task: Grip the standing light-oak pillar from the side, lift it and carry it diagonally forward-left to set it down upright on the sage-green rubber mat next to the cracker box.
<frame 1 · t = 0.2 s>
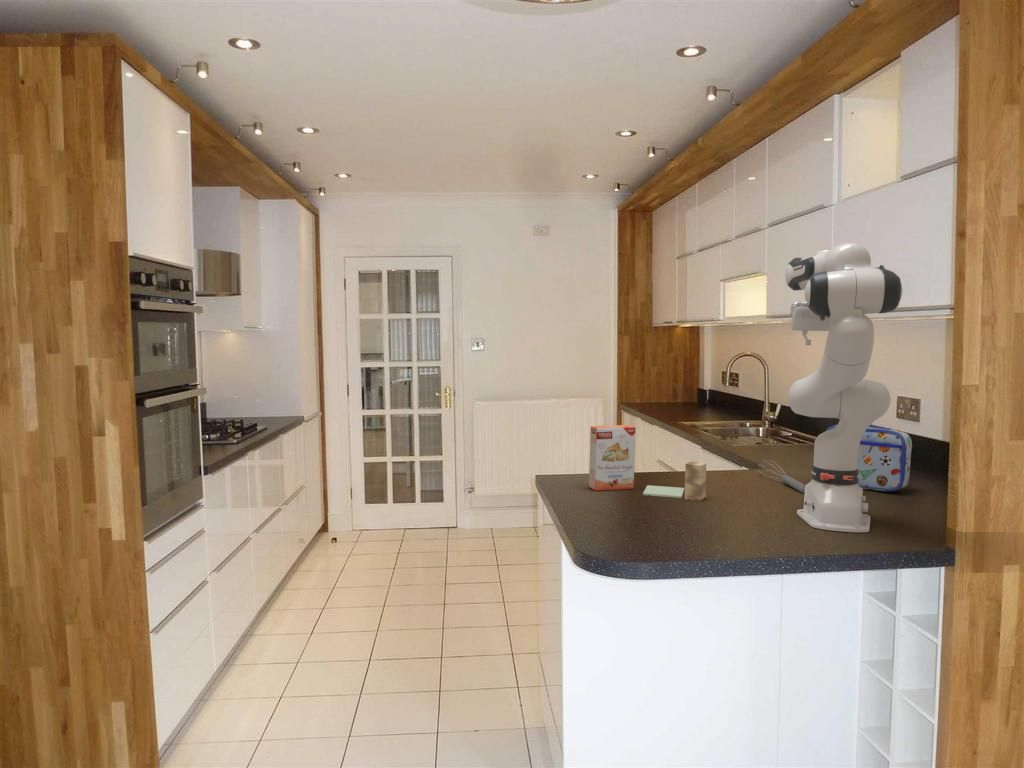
hand: (824, 345, 217), 48 cm above the worktop, tool pointing down, fingers open, 8 cm apart
oak pillar: (695, 498, 213), on the worktop
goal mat: (663, 492, 220), on the worktop
kitchen whisk: (785, 485, 234), on the worktop
lunch box: (862, 487, 230), on the worktop
cracker box: (611, 489, 226), on the worktop
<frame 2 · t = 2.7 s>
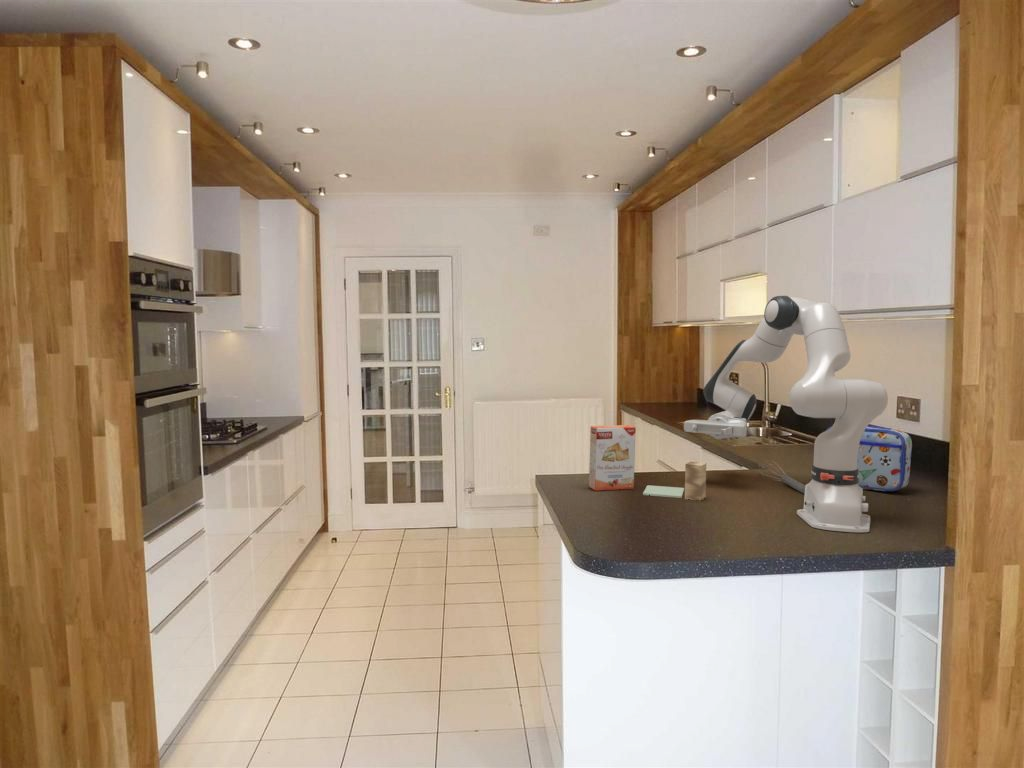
hand: (708, 430, 221), 20 cm above the worktop, tool horizontal, fingers open, 8 cm apart
nothing on the worktop moved.
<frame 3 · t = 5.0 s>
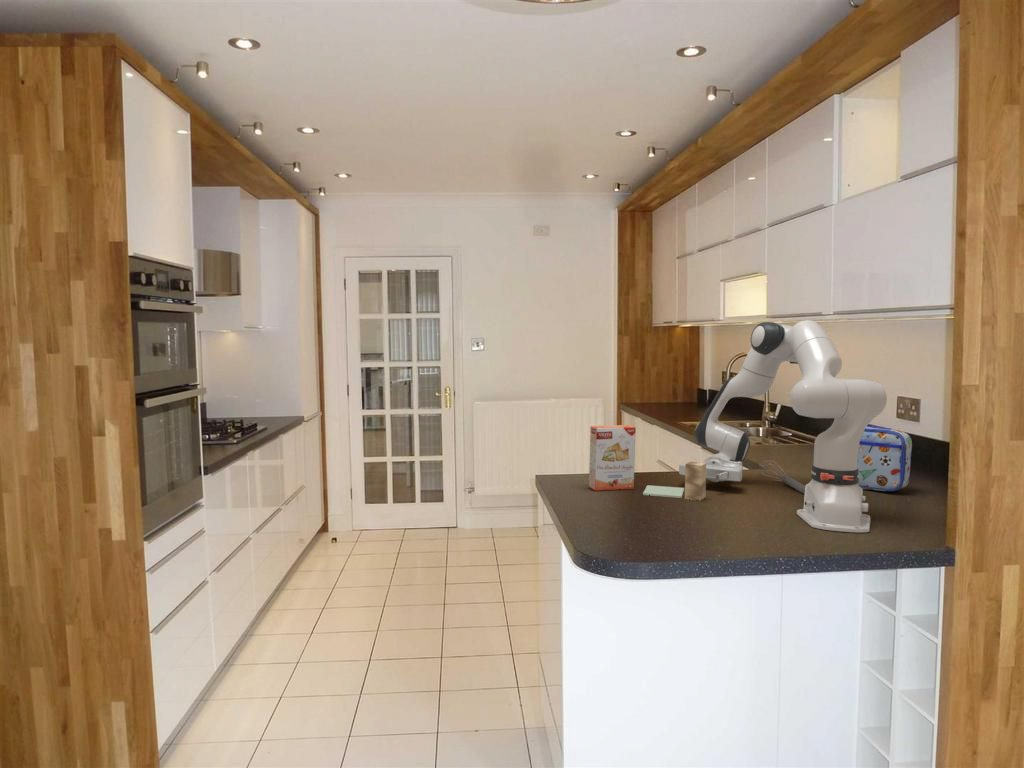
hand: (703, 475, 219), 6 cm above the worktop, tool horizontal, fingers open, 8 cm apart
nothing on the worktop moved.
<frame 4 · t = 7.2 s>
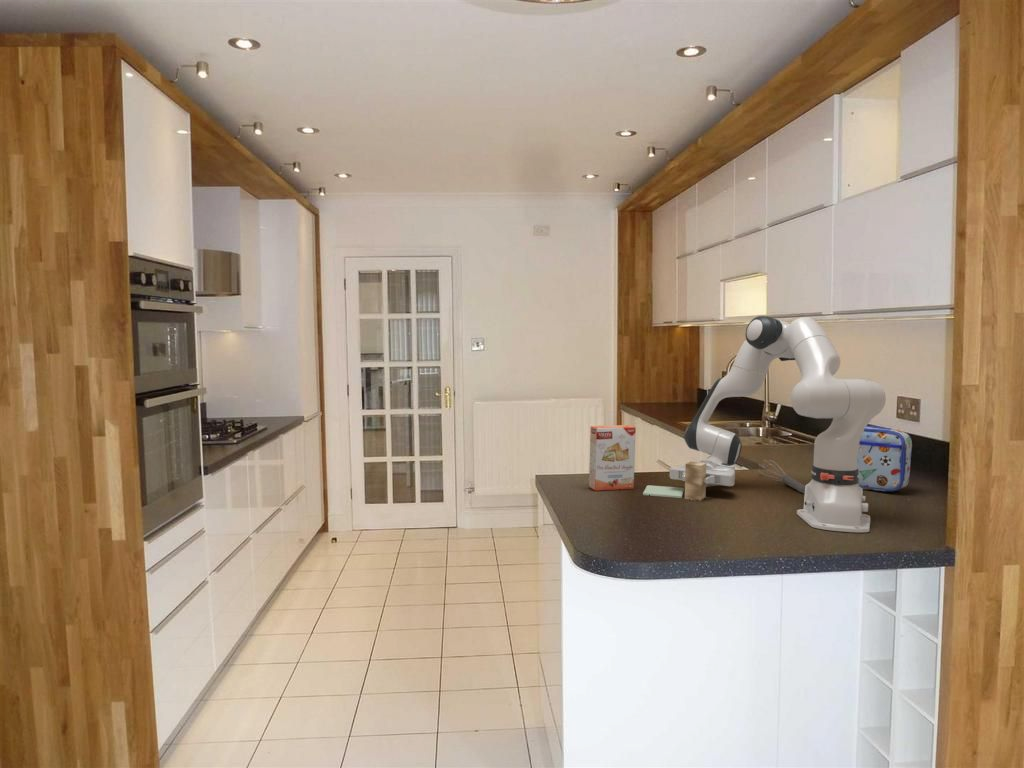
hand: (694, 479, 211), 6 cm above the worktop, tool horizontal, fingers closed on oak pillar, 5 cm apart
oak pillar: (695, 498, 213), on the worktop, touching gripper
everything else where it was.
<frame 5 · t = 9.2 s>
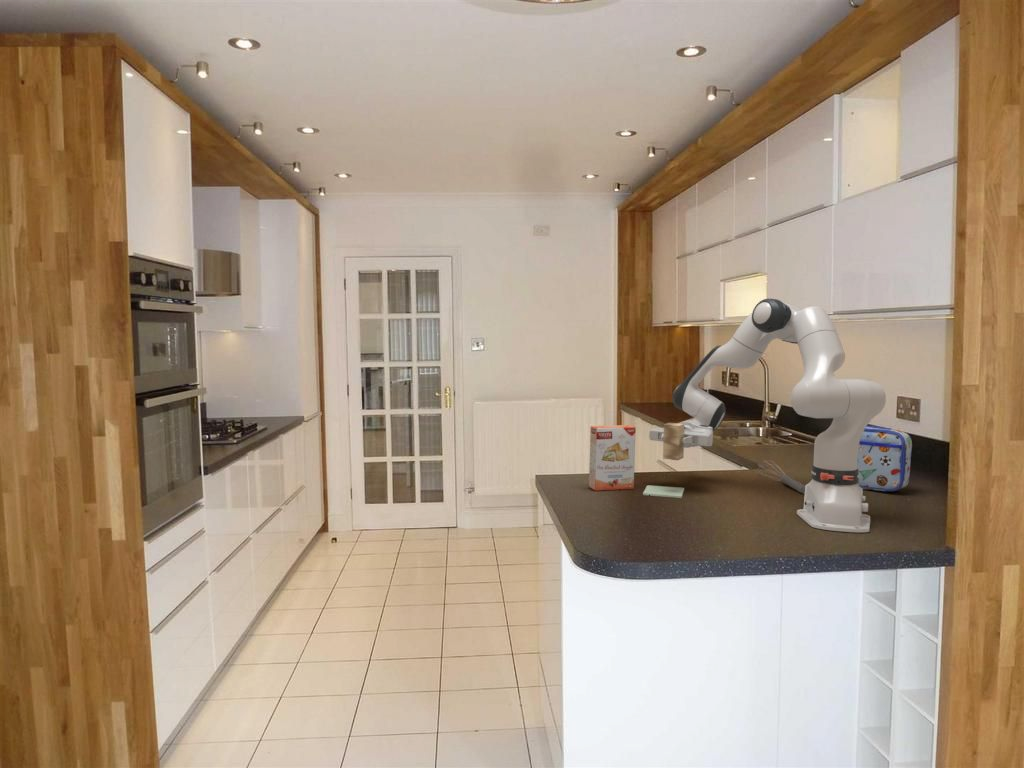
hand: (672, 439, 217), 17 cm above the worktop, tool horizontal, fingers closed on oak pillar, 5 cm apart
oak pillar: (673, 458, 218), point 11 cm above the worktop, touching gripper
everything else where it was.
when the fingers open (8 cm above the worktop, at t = 11.6 s): oak pillar drops 1 cm, resting on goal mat.
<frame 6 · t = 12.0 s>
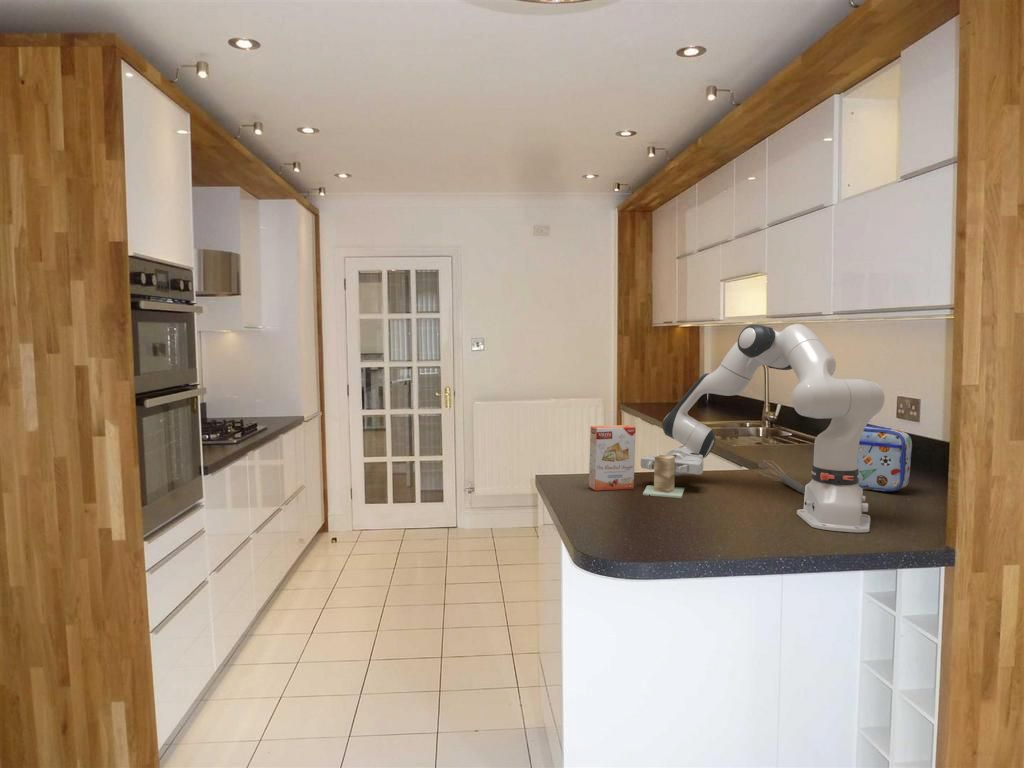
hand: (663, 468, 219), 8 cm above the worktop, tool horizontal, fingers open, 8 cm apart
oak pillar: (664, 490, 220), point 1 cm above the worktop, touching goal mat
everything else where it was.
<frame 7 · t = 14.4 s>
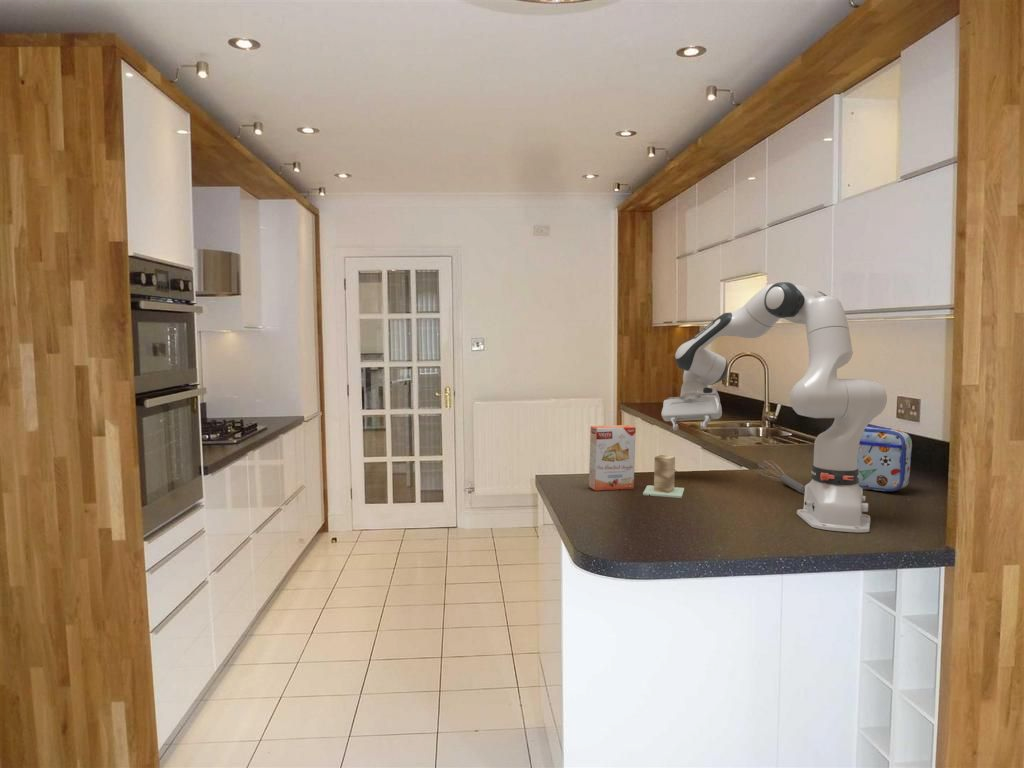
hand: (689, 428, 230), 19 cm above the worktop, tool tilted 40°, fingers open, 8 cm apart
nothing on the worktop moved.
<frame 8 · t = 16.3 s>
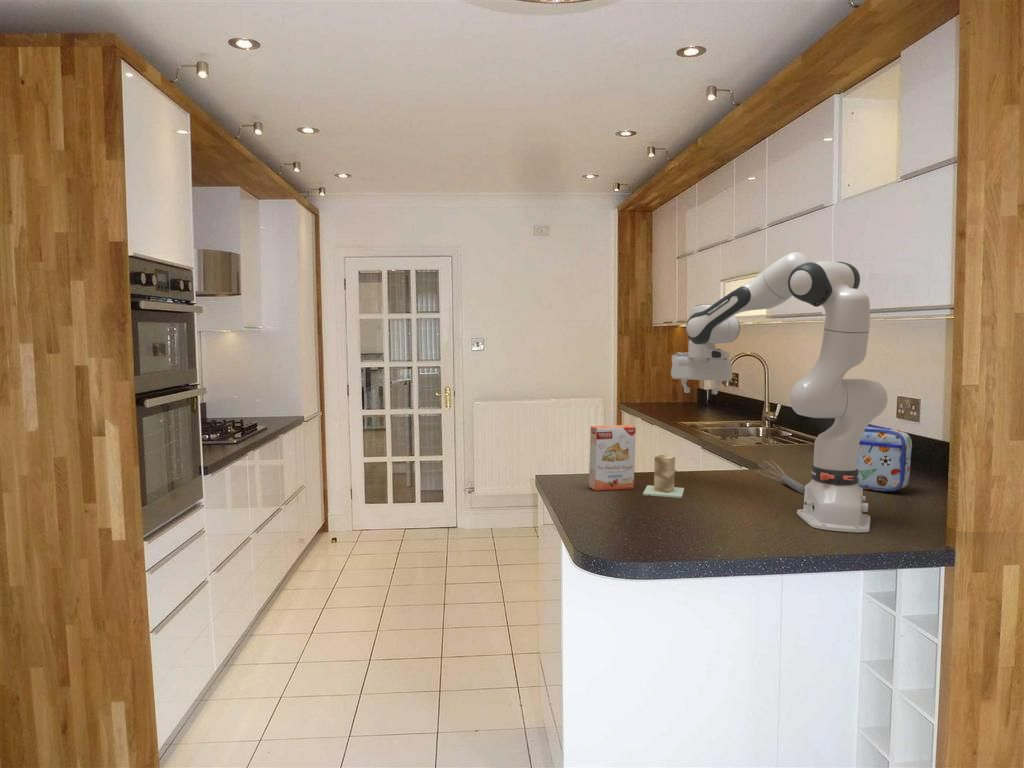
hand: (700, 393, 231), 31 cm above the worktop, tool pointing down, fingers open, 8 cm apart
nothing on the worktop moved.
at the end: oak pillar inside the target area on the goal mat (0.0 cm from its centre), point 0.6 cm above the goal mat's base; oak pillar tilted 0°; the gripper is holding nothing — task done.
